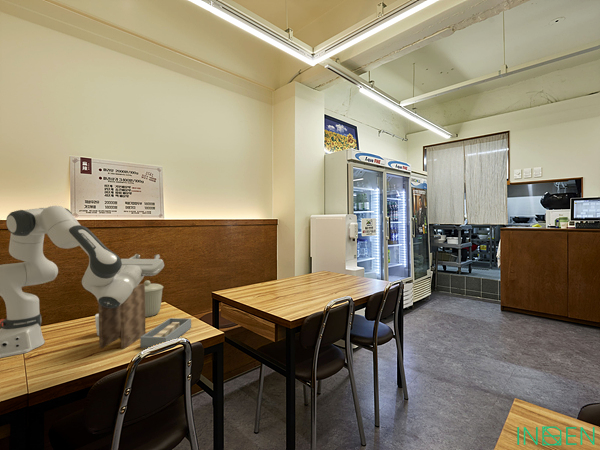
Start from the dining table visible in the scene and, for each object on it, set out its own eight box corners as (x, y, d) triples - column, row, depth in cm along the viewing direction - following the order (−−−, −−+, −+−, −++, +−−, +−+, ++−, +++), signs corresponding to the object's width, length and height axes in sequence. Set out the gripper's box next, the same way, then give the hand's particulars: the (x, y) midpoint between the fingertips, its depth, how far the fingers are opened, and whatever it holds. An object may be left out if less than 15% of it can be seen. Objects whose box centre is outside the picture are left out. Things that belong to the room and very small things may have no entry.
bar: (159, 344, 136) (159, 337, 136) (152, 344, 137) (152, 337, 136) (179, 328, 156) (179, 322, 156) (173, 328, 157) (172, 322, 156)
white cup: (104, 336, 148) (104, 317, 148) (91, 335, 150) (91, 316, 149) (117, 331, 156) (117, 312, 156) (104, 330, 157) (104, 311, 157)
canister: (127, 321, 171) (127, 284, 171) (134, 311, 188) (133, 278, 188) (162, 317, 177) (161, 282, 176) (165, 308, 194) (165, 276, 193)
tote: (165, 348, 134) (165, 337, 134) (140, 347, 135) (140, 337, 135) (191, 327, 160) (191, 318, 159) (169, 327, 161) (169, 318, 160)
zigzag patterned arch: (124, 348, 134) (123, 291, 134) (99, 347, 135) (98, 291, 135) (145, 334, 150) (144, 283, 150) (123, 334, 151) (122, 283, 151)
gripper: (153, 269, 122) (168, 250, 134) (105, 269, 123) (124, 249, 135) (157, 281, 125) (171, 261, 137) (111, 280, 127) (129, 260, 138)
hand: (148, 255), depth 136 cm, fingers open, 8 cm apart
